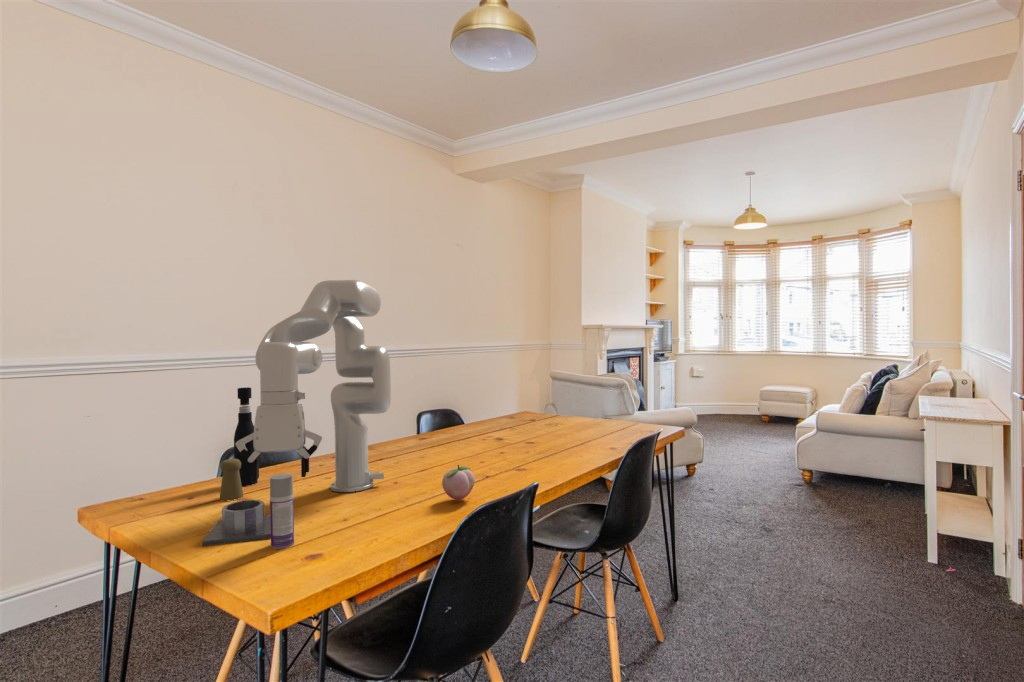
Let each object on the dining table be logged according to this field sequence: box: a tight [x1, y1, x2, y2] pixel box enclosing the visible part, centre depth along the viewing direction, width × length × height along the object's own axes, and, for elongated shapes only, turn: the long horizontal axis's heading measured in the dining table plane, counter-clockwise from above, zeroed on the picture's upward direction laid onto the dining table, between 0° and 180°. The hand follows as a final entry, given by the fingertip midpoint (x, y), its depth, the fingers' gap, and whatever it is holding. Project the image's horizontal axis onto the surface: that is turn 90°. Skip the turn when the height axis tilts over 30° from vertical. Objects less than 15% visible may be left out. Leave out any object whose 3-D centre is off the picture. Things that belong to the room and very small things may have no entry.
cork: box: [219, 458, 244, 501], centre depth 150 cm, size 6×6×11 cm
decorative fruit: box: [441, 464, 476, 502], centre depth 144 cm, size 9×8×10 cm
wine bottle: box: [233, 386, 259, 487], centre depth 165 cm, size 6×6×30 cm
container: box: [269, 473, 295, 550], centre depth 115 cm, size 5×5×15 cm
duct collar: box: [201, 499, 271, 547], centre depth 124 cm, size 14×14×6 cm
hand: (280, 477), depth 114 cm, fingers open, 9 cm apart
